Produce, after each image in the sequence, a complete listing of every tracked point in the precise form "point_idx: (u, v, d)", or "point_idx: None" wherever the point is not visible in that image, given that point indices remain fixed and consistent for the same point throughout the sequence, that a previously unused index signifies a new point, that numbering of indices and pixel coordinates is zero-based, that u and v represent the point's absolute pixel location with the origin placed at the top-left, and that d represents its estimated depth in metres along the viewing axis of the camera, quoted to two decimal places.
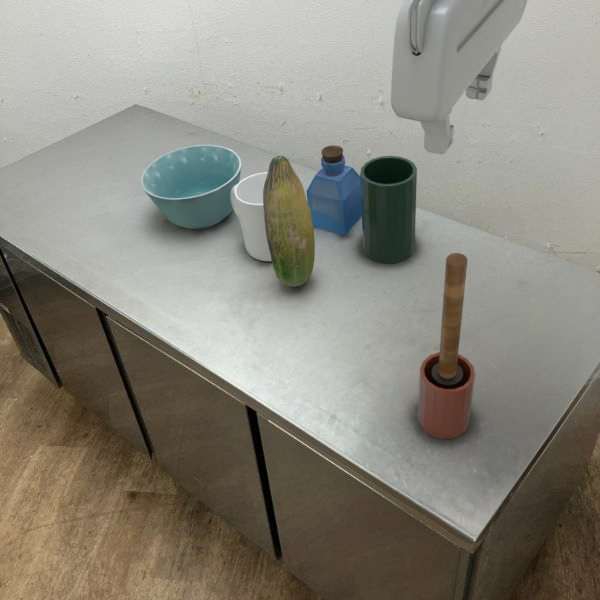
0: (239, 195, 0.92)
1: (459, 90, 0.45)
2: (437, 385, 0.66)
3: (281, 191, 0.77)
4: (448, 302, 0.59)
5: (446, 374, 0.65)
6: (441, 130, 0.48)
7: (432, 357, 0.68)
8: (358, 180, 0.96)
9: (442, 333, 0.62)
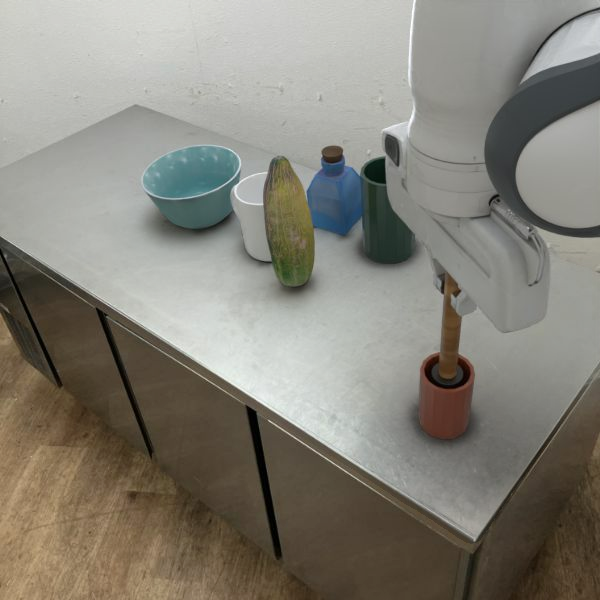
0: (239, 195, 0.92)
1: None
2: (437, 386, 0.66)
3: (281, 191, 0.77)
4: (448, 302, 0.59)
5: (446, 374, 0.65)
6: None
7: (432, 357, 0.68)
8: (358, 180, 0.96)
9: (442, 333, 0.62)
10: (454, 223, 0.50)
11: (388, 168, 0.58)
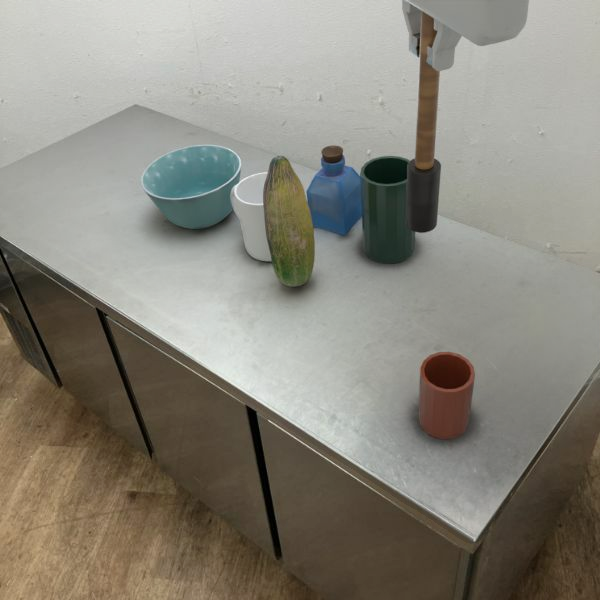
0: (239, 194, 0.92)
1: None
2: (413, 178, 0.62)
3: (281, 191, 0.77)
4: (424, 62, 0.55)
5: (423, 163, 0.61)
6: (454, 43, 0.52)
7: (432, 357, 0.68)
8: (358, 180, 0.96)
9: (418, 108, 0.58)
10: None
11: None
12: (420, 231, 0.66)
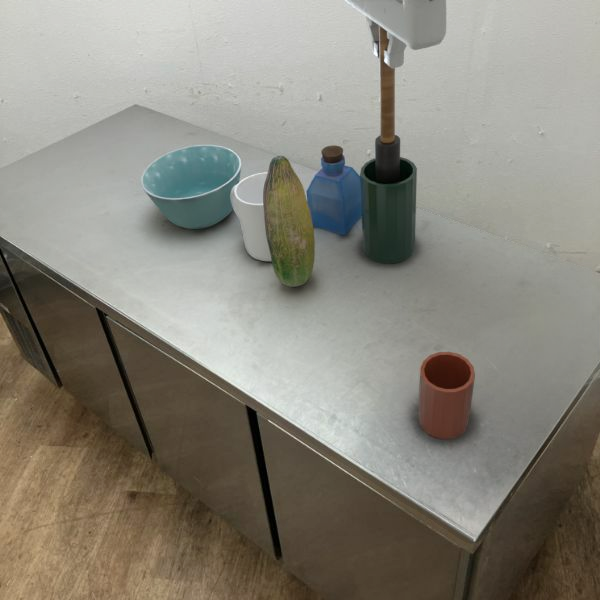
0: (239, 195, 0.92)
1: None
2: (379, 149, 0.82)
3: (281, 191, 0.77)
4: (382, 61, 0.75)
5: (386, 138, 0.81)
6: (402, 48, 0.72)
7: (432, 357, 0.68)
8: (358, 180, 0.96)
9: (380, 96, 0.78)
10: None
11: None
12: None
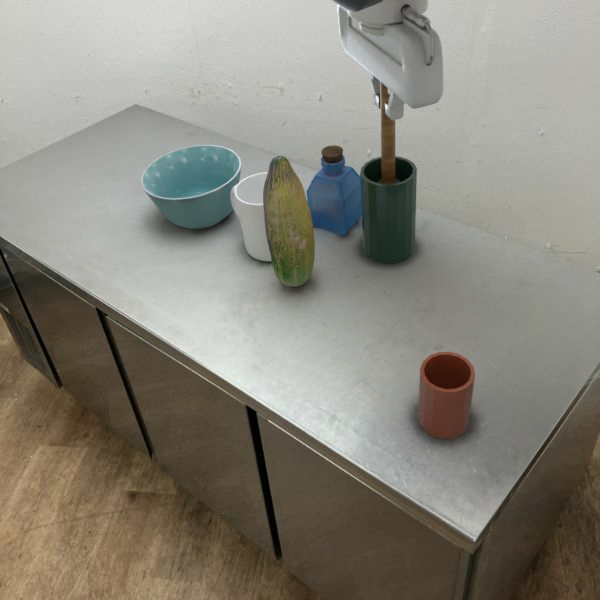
0: (239, 195, 0.92)
1: None
2: None
3: (281, 191, 0.77)
4: (383, 113, 0.79)
5: (387, 182, 0.86)
6: (402, 102, 0.77)
7: (432, 357, 0.68)
8: (358, 180, 0.96)
9: (381, 144, 0.83)
10: (380, 33, 0.71)
11: (339, 13, 0.79)
12: None
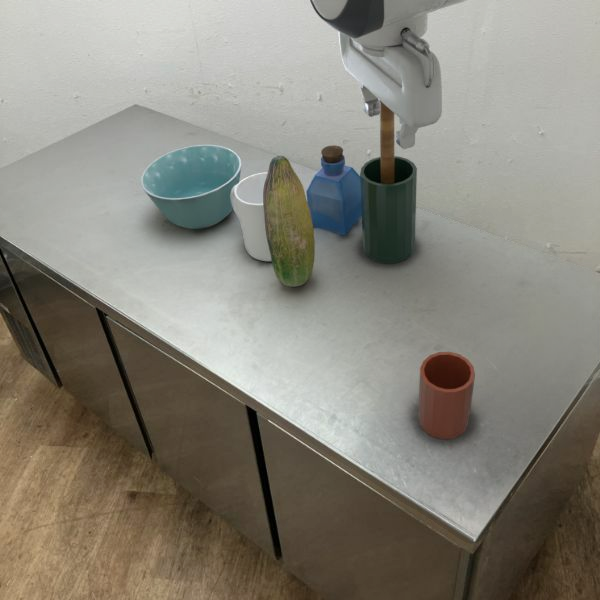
0: (239, 195, 0.92)
1: None
2: None
3: (281, 191, 0.77)
4: (383, 136, 0.81)
5: None
6: (414, 131, 0.76)
7: (432, 357, 0.68)
8: (358, 180, 0.96)
9: (381, 165, 0.85)
10: (380, 55, 0.72)
11: (340, 32, 0.81)
12: None
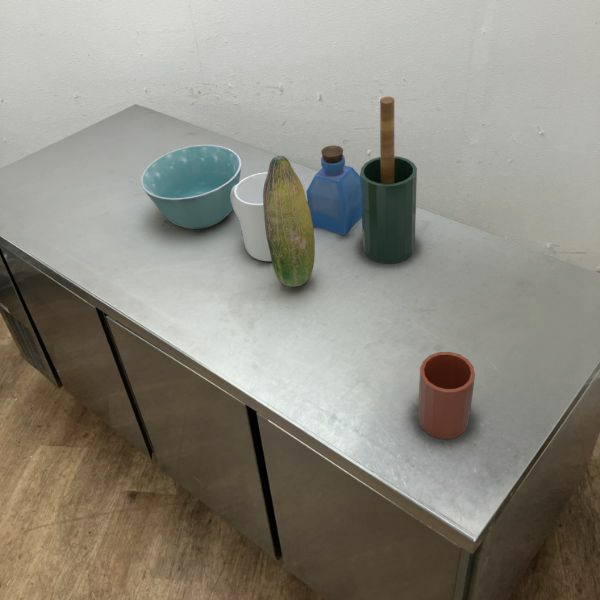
0: (239, 195, 0.92)
1: None
2: None
3: (281, 191, 0.77)
4: (383, 136, 0.81)
5: None
6: None
7: (432, 357, 0.68)
8: (358, 180, 0.96)
9: (381, 165, 0.85)
10: None
11: None
12: None
